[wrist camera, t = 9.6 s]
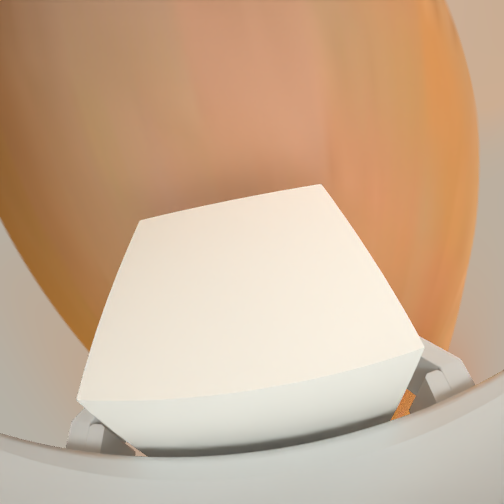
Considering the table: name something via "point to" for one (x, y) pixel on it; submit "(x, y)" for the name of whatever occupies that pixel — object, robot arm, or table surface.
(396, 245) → the table surface
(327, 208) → the matte ivory cube
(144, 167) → the table surface
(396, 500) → the robot arm
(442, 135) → the table surface
